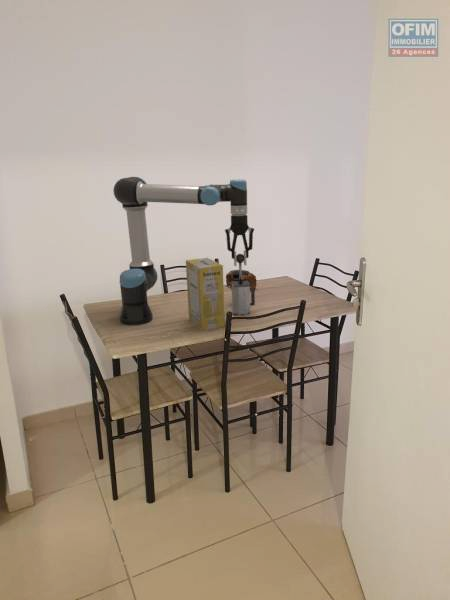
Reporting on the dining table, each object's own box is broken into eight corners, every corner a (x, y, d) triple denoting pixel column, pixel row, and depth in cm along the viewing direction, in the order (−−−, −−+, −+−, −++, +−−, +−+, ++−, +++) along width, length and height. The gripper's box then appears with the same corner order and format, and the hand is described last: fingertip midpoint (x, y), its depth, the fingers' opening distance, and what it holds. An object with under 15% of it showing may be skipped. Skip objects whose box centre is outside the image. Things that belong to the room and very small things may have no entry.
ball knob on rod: (237, 285, 218) (236, 254, 214) (235, 283, 222) (235, 253, 218) (245, 285, 219) (245, 254, 214) (244, 283, 223) (243, 252, 218)
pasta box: (189, 318, 219) (185, 260, 211) (209, 315, 223) (207, 257, 215) (202, 330, 203) (199, 268, 195) (224, 326, 207) (222, 265, 199)
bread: (257, 290, 262) (256, 273, 259) (240, 293, 258) (240, 275, 255) (241, 283, 278) (240, 266, 275) (225, 285, 274) (224, 269, 271)
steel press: (234, 316, 220) (233, 285, 216) (231, 310, 228) (230, 281, 224) (256, 314, 221) (255, 284, 217) (252, 309, 229) (252, 279, 225)
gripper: (221, 216, 206) (223, 268, 213) (259, 214, 208) (259, 265, 215) (219, 214, 213) (221, 264, 220) (255, 212, 215) (256, 262, 222)
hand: (240, 265), depth 218 cm, fingers closed on ball knob on rod, 4 cm apart
